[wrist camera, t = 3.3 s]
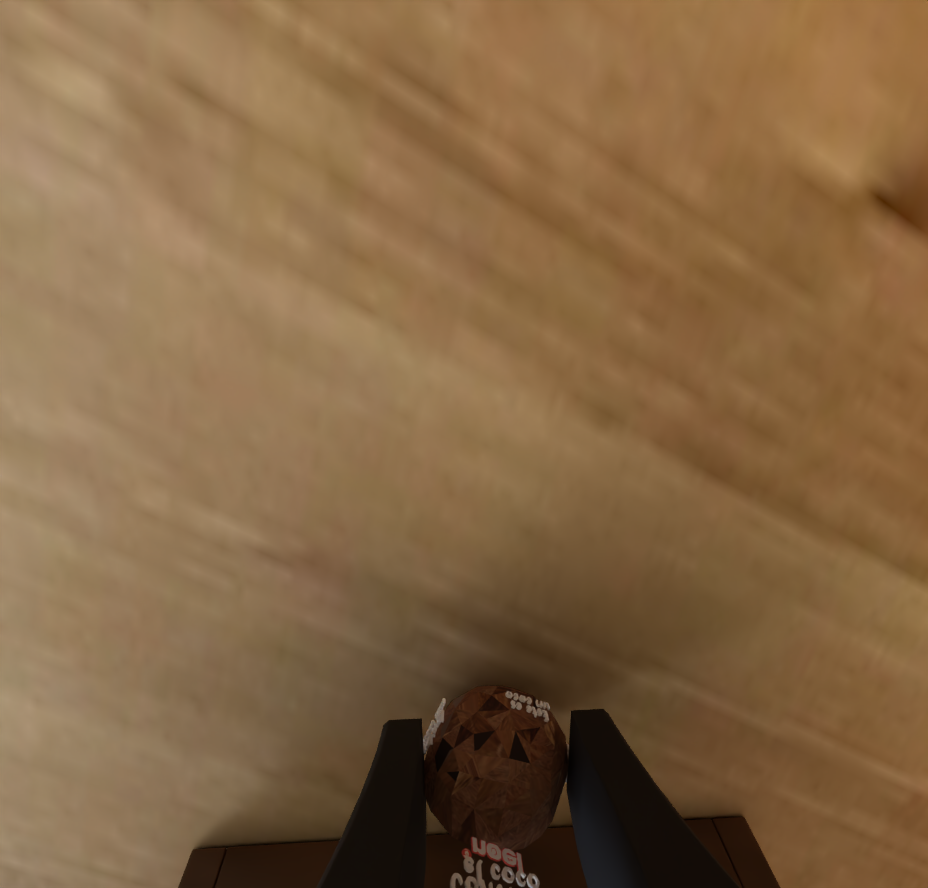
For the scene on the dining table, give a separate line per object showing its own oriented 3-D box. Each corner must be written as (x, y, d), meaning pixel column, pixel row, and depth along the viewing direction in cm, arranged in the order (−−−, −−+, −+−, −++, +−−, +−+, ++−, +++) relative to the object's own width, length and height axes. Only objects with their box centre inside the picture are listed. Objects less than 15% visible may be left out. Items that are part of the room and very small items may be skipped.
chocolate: (586, 679, 13) (649, 874, 9) (537, 752, 13) (578, 962, 10) (457, 634, 12) (468, 823, 8) (413, 714, 13) (405, 921, 9)
